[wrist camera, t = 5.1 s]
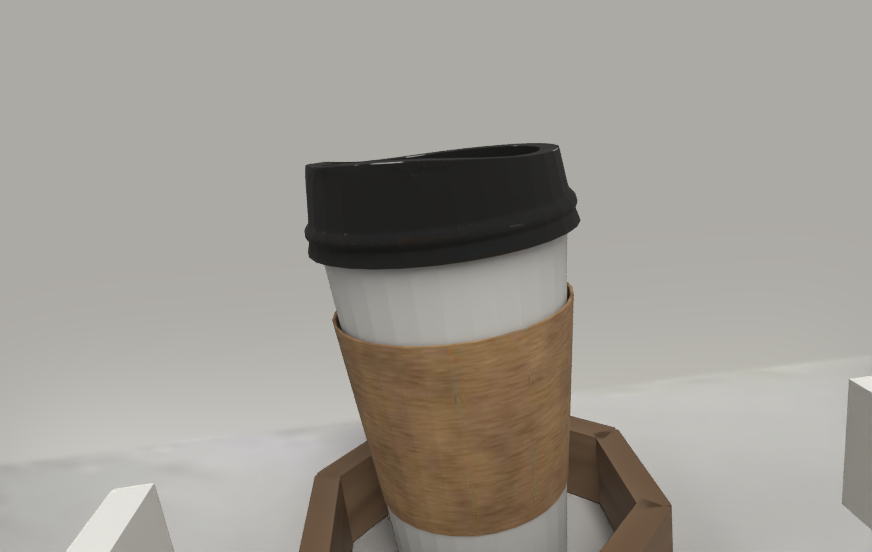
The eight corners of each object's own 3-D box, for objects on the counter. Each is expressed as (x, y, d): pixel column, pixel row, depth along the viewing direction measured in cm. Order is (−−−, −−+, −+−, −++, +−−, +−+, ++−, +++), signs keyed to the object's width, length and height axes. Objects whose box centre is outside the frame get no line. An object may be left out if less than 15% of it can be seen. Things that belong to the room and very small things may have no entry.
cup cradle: (297, 751, 16) (275, 664, 16) (336, 487, 28) (324, 429, 27) (731, 678, 17) (731, 590, 16) (593, 447, 28) (589, 389, 28)
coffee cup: (326, 571, 23) (240, 170, 19) (482, 466, 28) (441, 134, 24) (489, 716, 17) (414, 166, 13) (650, 547, 22) (633, 120, 18)
